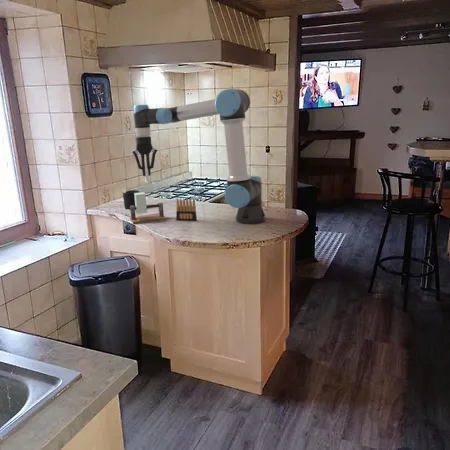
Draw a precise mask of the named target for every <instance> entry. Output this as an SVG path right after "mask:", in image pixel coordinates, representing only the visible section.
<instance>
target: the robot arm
mask: <svg viewBox="0 0 450 450" xmlns="http://www.w3.org/2000/svg"><path fill="white" fill-rule="evenodd" d="M250 105H251V99H250V95H249V94H248V92H246V91H245V90H242V89H235V88H226V89H224V90H221V91H220V92H219V93H218V94H217V95H216V97H215V98H214V99H209V100H203V101H199V102H194V103H189V104H188V103H187V104H184V105H183V104H182V105H178V106H174V107H173V106H172V107H160V108H159V107H157V108H149V105H148V104H134V106H133V119H134V130H135V136H136V137H135V142H136V147H135V149H133V150H132V151H131V153H132V154H133V156H134V158H135V161H136V165H137V169H139V170H141V171H142V176H143V177H144V182H145V183H146V184H147V183H150V178H149V177H151V170H152V169H154V166H155V159H156V154H157V153H158V149H157V148H154V147H153V144H152V137H151V134H152V133H151V125H167V124H174V123H178V122H184V121H189V120H196V119H201V118H206V117H212V116H218V115H219V121H220V122H221V123H222V124H223V128H224V137H225V147H226V156H227V165H228V175H229V176H228V178H227V179H226V189H225V191H224V199H225V201H226V203H227V204H228V205H229V206H230V207H232V208H235V209H237V212H236V215H235V221H236V222H237V223H239V224H244V225H248V224H250V225H251V224H261V223H264V222H265V221H266V214H265V212H264V209H263V203H262V201H263V199H262V198H263V197H262V195H263V194H262V193H263V192H262V186H263V185H262V184H263V182H262V177H261V176H258V175H249V174H248V166H247V156H246V155H247V154H246V147H245V146H246V145H245V136H244V126H243V124H244V123H243V122H244V121H245V119H246V112H247V111H248V110H249V108H250V107H251V106H250ZM151 152H152V153H151ZM138 153H139V154H140V159H141V161H140V159H139V156H138ZM150 154H151V159H150ZM145 161H146V165H145Z"/></svg>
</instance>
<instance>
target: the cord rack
mask: <svg viewBox="0 0 450 450" xmlns="http://www.w3.org/2000/svg"><path fill="white" fill-rule="evenodd" d="M146 207H147V209H153V208H158V213H152V214H142V215H136V210H137V207H135V206H134V205H133V206H130V210H129V211H130V216H129V219H130V221H131V222H132V224H133V225H138V224H147V223H155V222H163V221H167V218H166V217H165V213H164V203H163V202H157V203H156V204H146Z"/></svg>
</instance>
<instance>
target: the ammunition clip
mask: <svg viewBox="0 0 450 450" xmlns="http://www.w3.org/2000/svg"><path fill="white" fill-rule="evenodd" d="M175 207H176V212H175V214H176V216H175V217H176V222H178V221H180V222H197V220H198V219H197V210H196V209H197V207H196V201H195V197H194V198H189V199H188V198H186V199H185V198H184V197H183V199H182V198H181V197H180V198H178V197H177V198H176V206H175Z"/></svg>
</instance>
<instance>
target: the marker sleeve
mask: <svg viewBox="0 0 450 450" xmlns="http://www.w3.org/2000/svg"><path fill="white" fill-rule="evenodd" d="M134 196H135V207H137V210H135V213H136V214H145V213H148V210H147V209H148V208H147V207H146V205H147V197H146V196H147V195H146V193H145V192H144V191H143V192H139V193H134Z"/></svg>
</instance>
